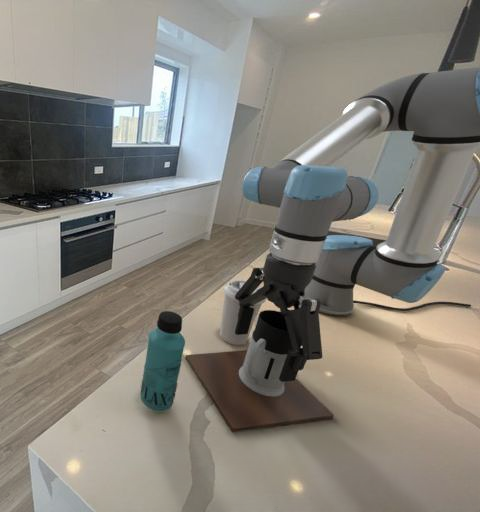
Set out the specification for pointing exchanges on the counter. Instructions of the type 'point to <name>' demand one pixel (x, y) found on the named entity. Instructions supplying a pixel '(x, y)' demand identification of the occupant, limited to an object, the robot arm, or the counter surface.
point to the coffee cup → (235, 314)
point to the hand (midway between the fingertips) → (261, 354)
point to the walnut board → (252, 395)
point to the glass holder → (266, 354)
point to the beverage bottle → (163, 362)
